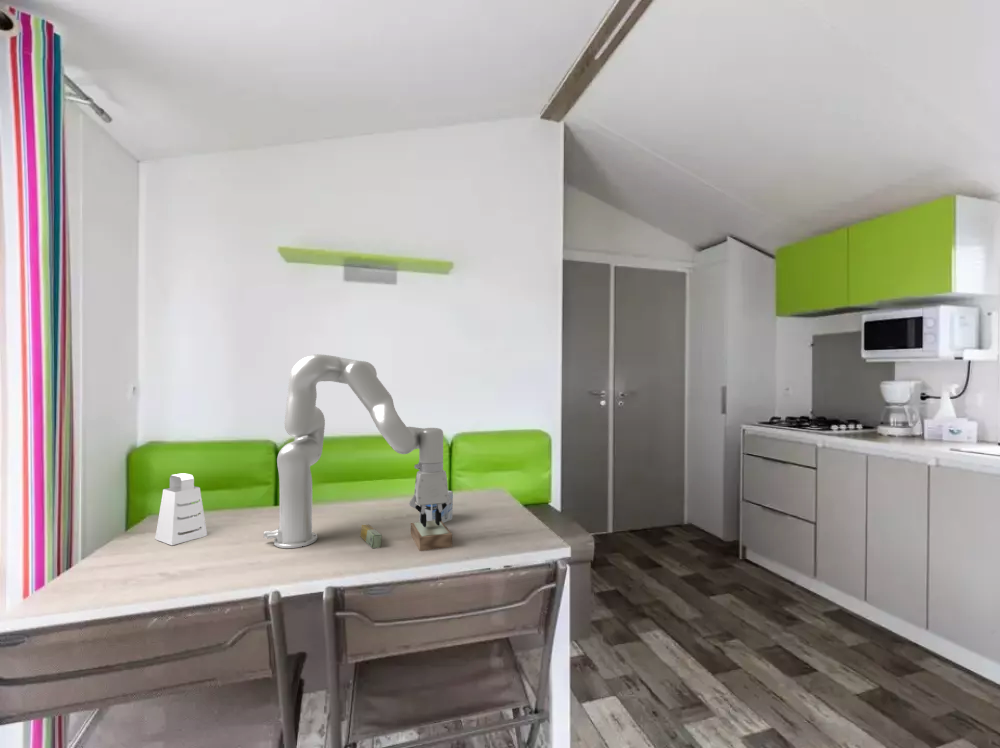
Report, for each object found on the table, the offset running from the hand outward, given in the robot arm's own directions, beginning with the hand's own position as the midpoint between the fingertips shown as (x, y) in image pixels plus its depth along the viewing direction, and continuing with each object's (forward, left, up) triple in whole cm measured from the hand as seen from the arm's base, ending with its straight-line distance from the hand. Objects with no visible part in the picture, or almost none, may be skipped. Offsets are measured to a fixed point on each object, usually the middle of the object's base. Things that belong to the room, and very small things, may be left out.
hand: (430, 524), depth 152 cm
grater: (-75, +30, -6) cm, 81 cm away
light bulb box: (+6, +18, -6) cm, 20 cm away
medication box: (-18, +5, -6) cm, 20 cm away
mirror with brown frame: (0, 0, -5) cm, 5 cm away
